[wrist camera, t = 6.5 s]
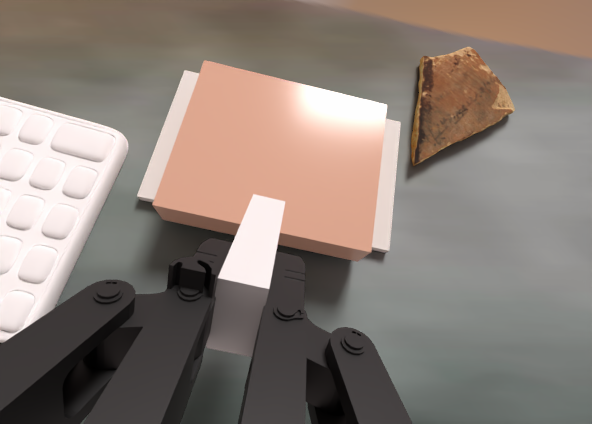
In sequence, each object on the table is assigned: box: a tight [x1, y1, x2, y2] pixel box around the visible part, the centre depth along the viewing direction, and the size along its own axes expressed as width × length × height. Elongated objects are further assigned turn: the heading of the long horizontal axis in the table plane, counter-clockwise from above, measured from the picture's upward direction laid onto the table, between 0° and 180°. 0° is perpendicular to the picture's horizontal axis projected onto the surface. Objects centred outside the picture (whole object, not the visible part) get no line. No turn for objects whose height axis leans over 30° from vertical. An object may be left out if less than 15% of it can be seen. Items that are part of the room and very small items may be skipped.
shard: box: [411, 47, 515, 166], centre depth 27 cm, size 11×8×2 cm
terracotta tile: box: [152, 60, 387, 262], centre depth 22 cm, size 12×3×10 cm
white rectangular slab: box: [137, 70, 401, 253], centre depth 24 cm, size 16×10×1 cm, turn 80°
